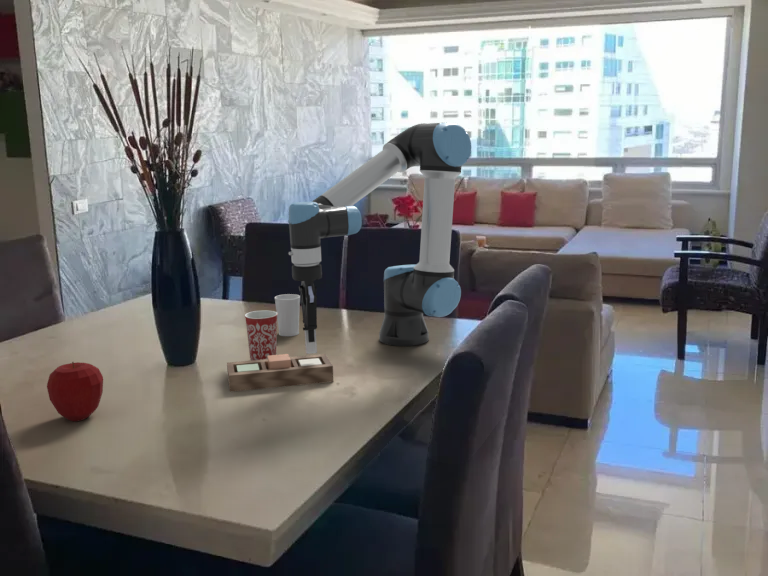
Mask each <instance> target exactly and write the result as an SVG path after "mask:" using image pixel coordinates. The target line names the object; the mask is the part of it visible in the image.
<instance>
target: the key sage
mask: <svg viewBox="0 0 768 576" xmlns="http://www.w3.org/2000/svg"><path fill="white" fill-rule="evenodd" d="M257 370H259V366H258V364H247V365H237V372H246V371H257Z"/></svg>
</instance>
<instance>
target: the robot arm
mask: <svg viewBox="0 0 768 576" xmlns="http://www.w3.org/2000/svg"><path fill="white" fill-rule="evenodd" d="M471 153H472V141H471V137H470V135H469V133H468V132H467V131H466V130H465V128H464V127H462V126H461V125H460V124H458V123H454V122H453V123H451V122H431V123H430V122H429V123H418V124H414V125H412V126H411V127H408V128H407V129H404V130H403V131H402V132H401V133H398V134H397V135H395V136H394V137H393V138H391V139H390V140H389V141H386V143H385V144H383V146H382V150H381V151H380V152H378V153H377V154H375V155H374V156H373V157H372V158H370V159H369V160H367V161H366V162H365V163H363V164H362V165H360V166H359V167H357V168H356V169H355V170H354V171H352V172H350V174H348V175H347V176H346V177H344V178H343V179H341V180H340V181H338V182H336V183H335V185H332V187H330V188H328V189H327V190H326V191H324V192H323V193H322V194H321V195H319V196H318V197H316V198H314V199H313V200H312V201H296V202H292V203H291V204H289V206H288V229H289V241H290V242H289V243H290V250H291V251H288V256H290V257H291V264H292V266H291V275H292V280H294V281H296V282H301V285H299V286H298V290H299V292H300V293H299V294H300V304H301V313H302V324H303V327H302V330H303V331H304V339H305V340H304V341H305V344H304V345H305V353H306V355H314V354H318V349H317V348H318V345H317V330H316V329H318V321H317V320H318V319H317V318H318V316H317V310H318V309H317V307H318V306H317V304H318V303H317V301H318V300H317V298H318V295H317V291H318V288H317V286H316V285H315V283H314V282H315V281H318V280H320V279H322V278H323V270H322V269H323V268H322V264H321V262H322V245H321V239H326V238H332V237H333V238H335V237H342V236H343V237H344V236H351V235H355V234H357V233H358V232H360V230H361V228H362V224H363V223H362V222H363V220H362V214H361V211H360V210H359V208H358V207H356V206H354V205H355V204H357V203H358V202H359V201H361V200H362V199H363V198H365V197H367V195H369V194H370V193H371V192H373V191H375V189H377V188H378V187H379V186H381V185H382V184H384V183H385V182H386V181H388V180H389V179H390V178H392V177H393V176H394V175H395V174H397V173H404V172H406V171H407V170H408V169H410V168H412V167H415V166H419V172H420V173H421V174H422V176H423V177H424V185H423V200H422V216H421V217H422V218H421V229H420V245H419V246H420V247H419V248H420V249H419V261H418V262H417V263H416V264H402V265H393V266H388V267H387V268H385V270H384V273H383V290H384V291H383V293H384V294H383V295H384V296H383V297H384V298H383V300H384V302H383V304H384V305H383V306H384V316H383V318H382V319H383V320H382V323H381V325H380V330H379V332H378V333H379V334H378V335H379V336H378V337H379V338H378V339H379V342H380V343H382V344H385V345H388V346H396V347H411V346H419V345H422V344H426V343H427V342H428V341H429V339H430V338H429V337H430V336H429V333H430V332H429V330H428V327H427V324H426V320H425V318H424V314H425V315H426V316H429V317H436V318H443V317H446V316H448V315H450V314H451V313H453V311H454V310H455V309H456V308H457V307H458V305H459V303H460V300H461V296H462V289H461V288H462V287H461V286H460V284H459V282H458V281H457V280H456V279H455V278H454V277H455V269H454V267H453V266H452V265H451V264H450V259H451V258H450V257H451V246H452V245H451V244H452V243H451V242H452V232H453V229H452V228H453V217H454V216H453V214H454V203H455V202H454V199H455V187H456V185H455V184H456V179H457V178H458V177H459V176H460V175H462V166H463V165H465V164H466V163H467V161H468V160H469V159H470V157H471Z"/></svg>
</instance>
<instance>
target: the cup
mask: <svg viewBox="0 0 768 576" xmlns="http://www.w3.org/2000/svg"><path fill="white" fill-rule="evenodd" d="M274 302H275V310H276V311H275V312H277V313H278V315H277V329H278V335H279V336H281V337H294V336H297V335H299V334H300V310H301V309H300V308H301V307H300V304H301V295H299V294H296V293H295V294H294V293H293V294H292V293H291V294H290V293H287V294H286V293H285V294H279V295H276V296H274Z"/></svg>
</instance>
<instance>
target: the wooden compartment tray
mask: <svg viewBox="0 0 768 576" xmlns="http://www.w3.org/2000/svg"><path fill="white" fill-rule="evenodd" d="M289 357H290V359H291V367H290V368H279V369H268V359H263V360H252V361H250V360H241V361H231V362H226V370H227V371H226V372H227V382H228V389H229V392H231V393H233V392H240V391H241V392H242V391H251V390H252V391H253V390H262V389H263V390H264V389H273V388H274V389H275V388H283V387H292V386H305V385H314V384H323V383H324V384H325V383H333V382H334V366H333V364H332V362H331V360H330V359H329V357H328V356H327V354H326V353H323V354H320V353H319V354H308V355H299V356H298V355H297V356H289ZM314 358H319V360H320V361H321V363H322V365H312V366H301V367H299V364H298V360H303V359H314ZM247 364H258V366H259V370H257V371H246V372H237V365H247Z"/></svg>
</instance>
